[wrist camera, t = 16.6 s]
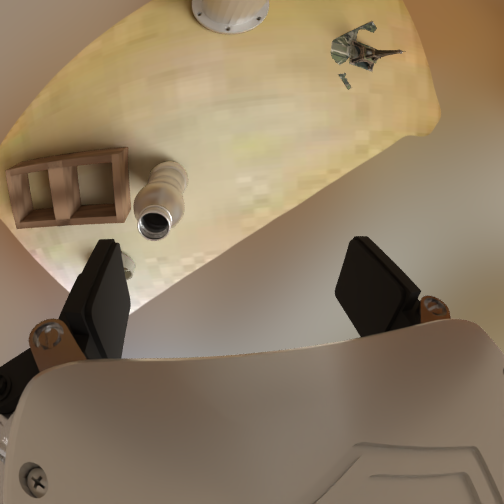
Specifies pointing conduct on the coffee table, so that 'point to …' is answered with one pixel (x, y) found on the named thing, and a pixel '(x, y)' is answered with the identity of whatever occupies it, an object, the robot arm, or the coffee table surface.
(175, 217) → the plastic bottle
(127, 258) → the wristwatch
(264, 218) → the coffee table surface
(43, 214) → the bottle rack
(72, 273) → the coffee table surface
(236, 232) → the coffee table surface
